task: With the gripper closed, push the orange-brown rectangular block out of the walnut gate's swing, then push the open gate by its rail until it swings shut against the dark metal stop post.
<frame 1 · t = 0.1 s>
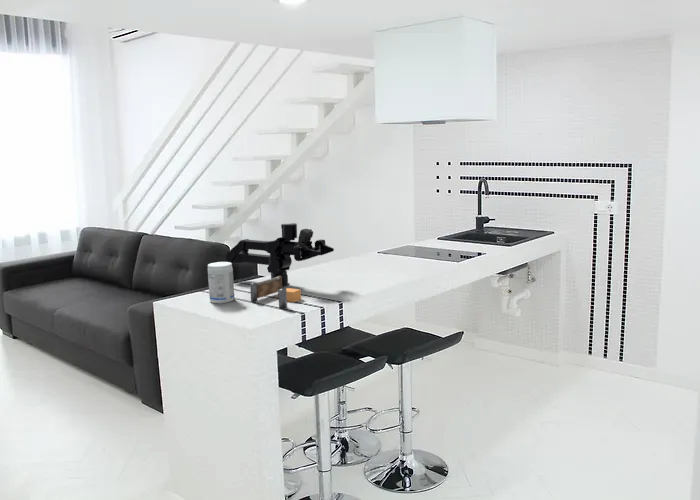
hand: (327, 251, 264), 17 cm above the countertop, tool horizontal, fingers open, 9 cm apart
gate posts: (254, 301, 253), on the countertop
orange-brown rectangular block: (291, 300, 254), on the countertop
supplement tub: (222, 301, 255), on the countertop
gate: (269, 287, 260), point 4 cm above the countertop, hinge at 90.0°
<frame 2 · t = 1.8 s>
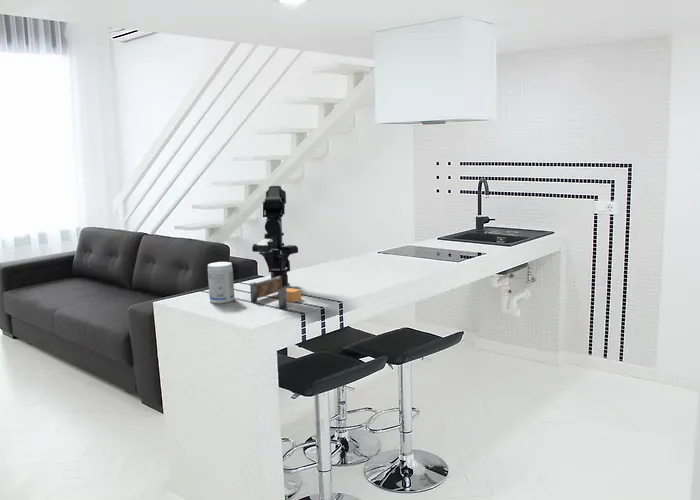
hand: (275, 270, 256), 11 cm above the countertop, tool pointing down, fingers open, 5 cm apart
nothing on the countertop moved.
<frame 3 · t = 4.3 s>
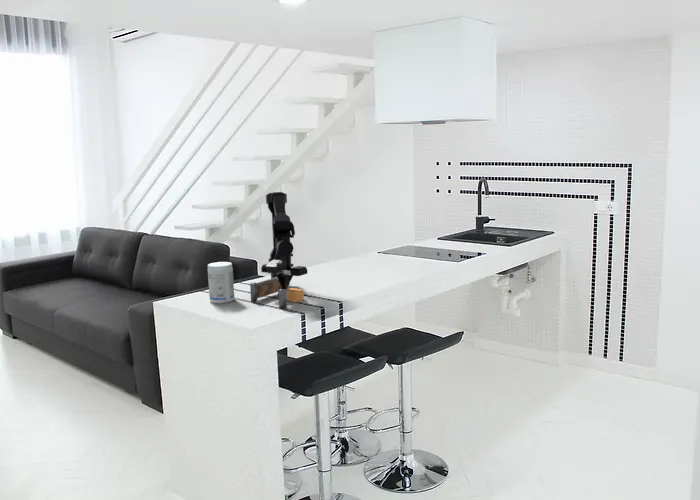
hand: (284, 291, 255), 3 cm above the countertop, tool pointing down, fingers closed
orange-brown rectangular block: (293, 300, 254), on the countertop, touching gripper
everything else where it was.
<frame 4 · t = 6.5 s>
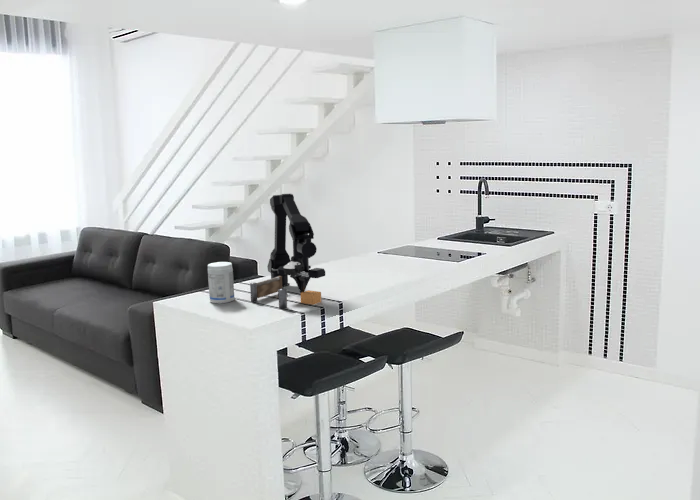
hand: (302, 293, 251), 3 cm above the countertop, tool pointing down, fingers closed
orange-brown rectangular block: (311, 302, 250), on the countertop
everything else where it was.
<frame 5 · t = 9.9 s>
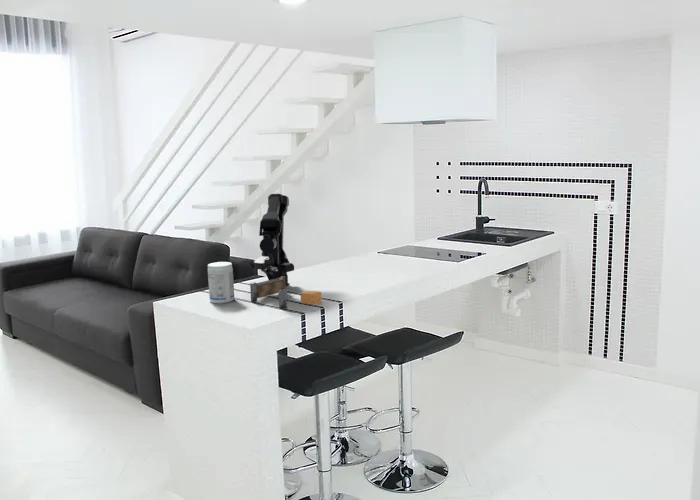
hand: (272, 286, 264), 3 cm above the countertop, tool pointing down, fingers closed
gate: (270, 287, 259), point 4 cm above the countertop, hinge at 83.9°, touching gripper
everything else where it was.
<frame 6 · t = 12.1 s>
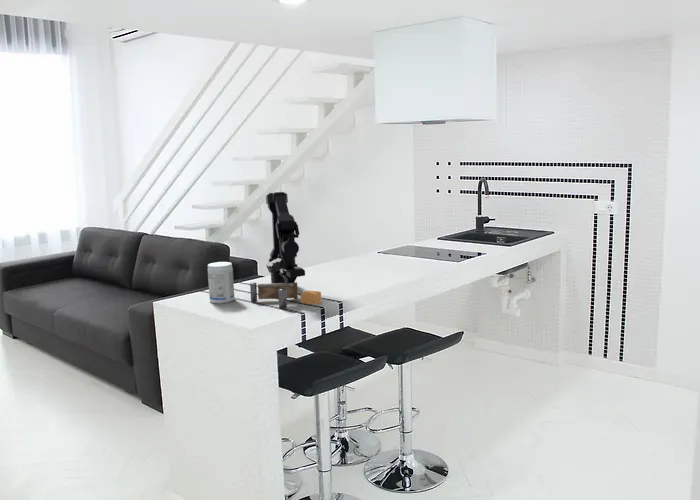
hand: (289, 290, 256), 3 cm above the countertop, tool pointing down, fingers closed
gate: (277, 291, 252), point 4 cm above the countertop, hinge at 34.3°, touching gripper
everything else where it was.
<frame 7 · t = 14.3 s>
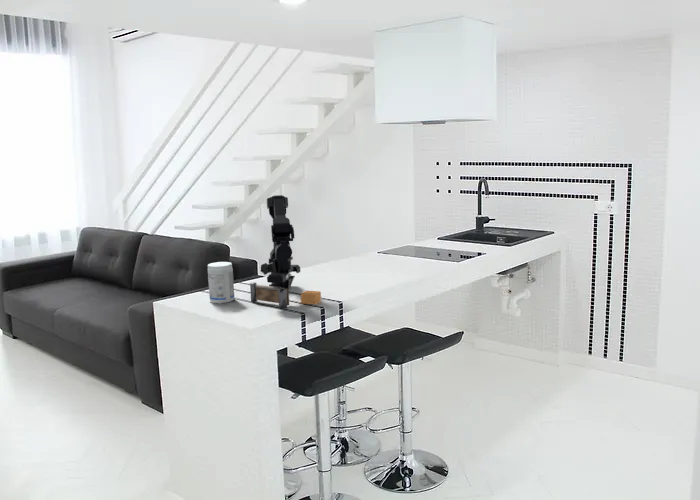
hand: (285, 295, 247), 3 cm above the countertop, tool pointing down, fingers closed
gate: (272, 294, 247), point 4 cm above the countertop, hinge at -1.1°, touching gate posts, gripper
everything else where it was.
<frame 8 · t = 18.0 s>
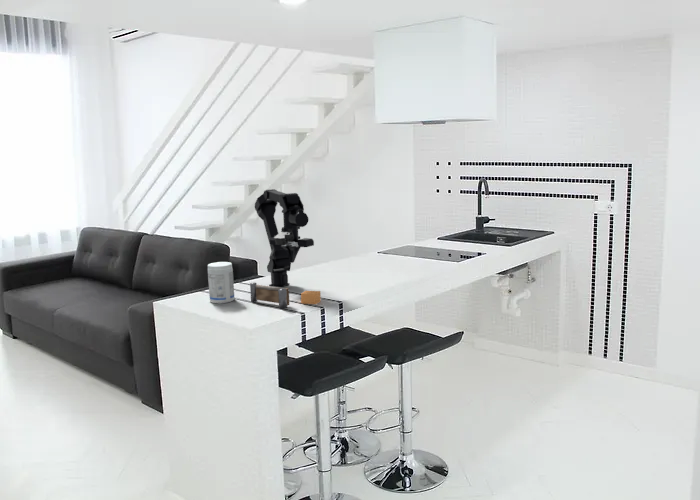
hand: (292, 262, 267), 12 cm above the countertop, tool pointing down, fingers closed
gate: (272, 294, 247), point 4 cm above the countertop, hinge at -0.9°
everything else where it was.
at the end: gate at -1° (first picture: +90°); orange-brown rectangular block inside the target area (1.3 cm from its centre), on the countertop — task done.
